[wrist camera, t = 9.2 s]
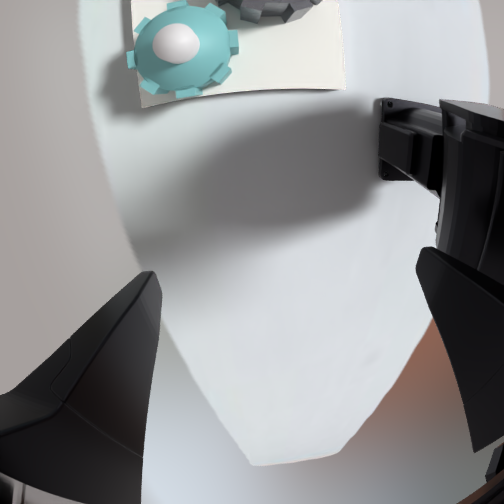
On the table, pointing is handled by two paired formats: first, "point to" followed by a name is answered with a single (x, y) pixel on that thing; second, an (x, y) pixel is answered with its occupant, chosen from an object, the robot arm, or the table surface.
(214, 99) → the table surface
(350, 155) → the table surface
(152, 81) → the gear board
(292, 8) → the gear
